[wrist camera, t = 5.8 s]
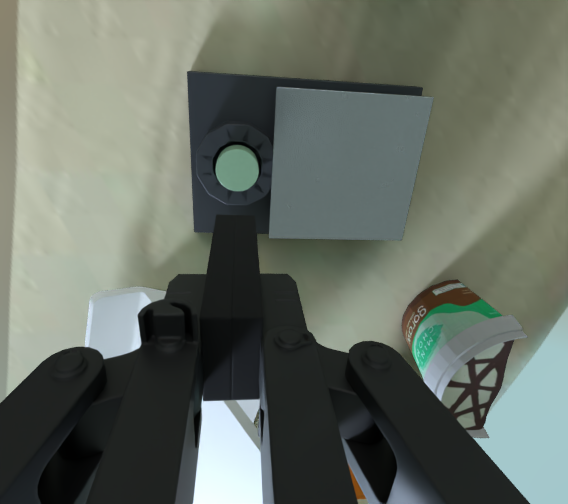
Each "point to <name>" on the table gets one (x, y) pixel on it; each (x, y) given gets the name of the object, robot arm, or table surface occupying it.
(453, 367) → the food container
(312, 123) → the pan
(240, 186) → the button
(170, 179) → the table surface
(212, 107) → the scale
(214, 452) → the tablet stand
